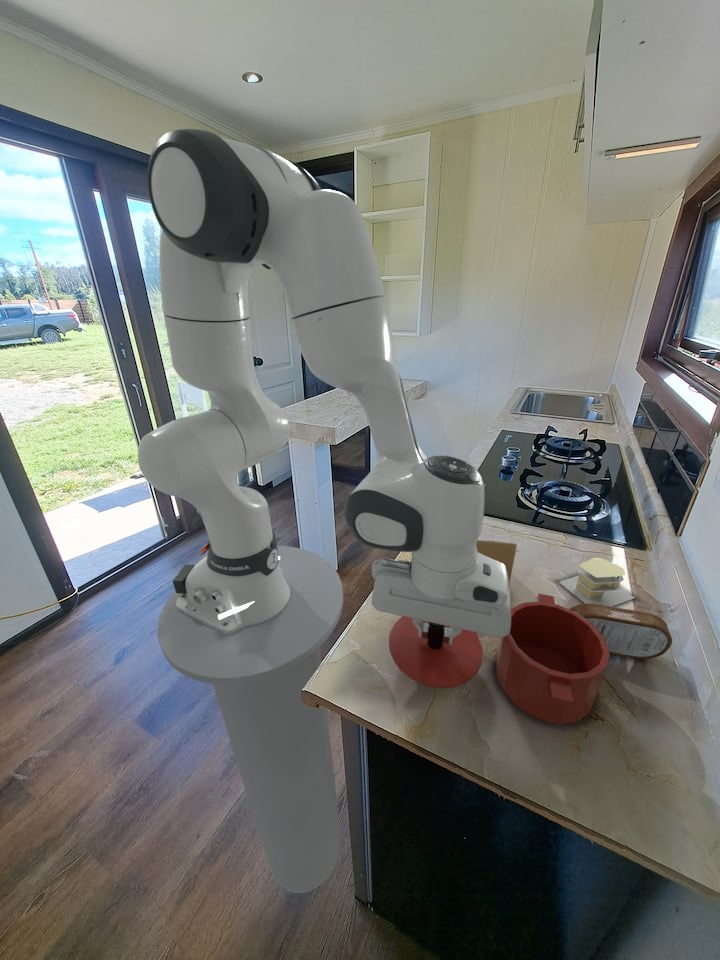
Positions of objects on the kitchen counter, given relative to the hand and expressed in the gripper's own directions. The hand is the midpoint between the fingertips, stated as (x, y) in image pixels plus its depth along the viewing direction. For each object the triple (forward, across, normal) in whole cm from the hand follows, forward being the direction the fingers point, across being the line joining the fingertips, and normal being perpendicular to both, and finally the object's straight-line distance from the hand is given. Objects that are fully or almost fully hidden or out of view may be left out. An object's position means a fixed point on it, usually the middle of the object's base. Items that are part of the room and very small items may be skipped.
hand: (435, 637), depth 60 cm
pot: (+6, +17, +2) cm, 18 cm away
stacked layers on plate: (+6, +29, +26) cm, 39 cm away
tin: (+6, +28, +10) cm, 30 cm away
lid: (+2, 0, 0) cm, 2 cm away
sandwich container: (+6, +7, +23) cm, 24 cm away
